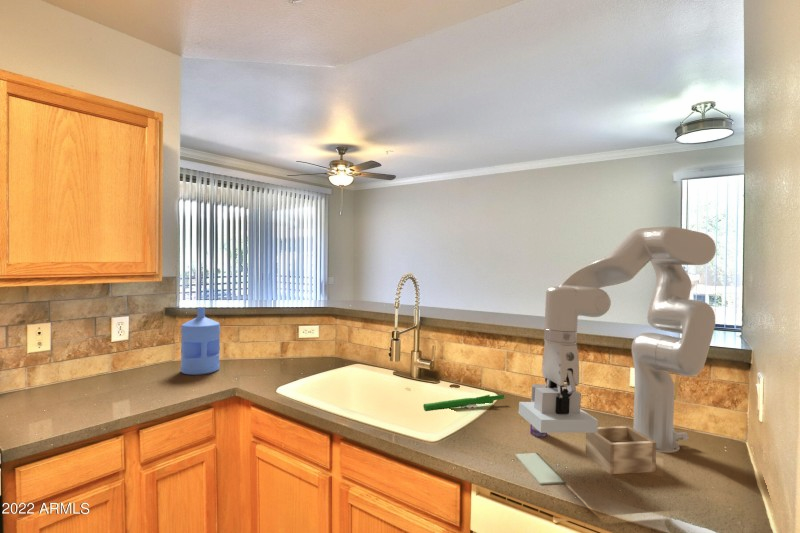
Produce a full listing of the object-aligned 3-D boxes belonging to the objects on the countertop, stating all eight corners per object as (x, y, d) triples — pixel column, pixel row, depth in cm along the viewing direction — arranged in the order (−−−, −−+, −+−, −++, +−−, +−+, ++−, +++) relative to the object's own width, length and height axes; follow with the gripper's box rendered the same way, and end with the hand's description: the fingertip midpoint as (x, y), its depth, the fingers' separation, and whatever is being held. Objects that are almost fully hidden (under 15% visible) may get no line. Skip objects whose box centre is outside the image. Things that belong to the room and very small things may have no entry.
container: (533, 432, 123) (535, 382, 122) (549, 437, 120) (550, 386, 119) (527, 437, 119) (528, 386, 119) (543, 442, 116) (545, 389, 116)
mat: (571, 452, 110) (571, 451, 110) (604, 480, 96) (604, 479, 96) (515, 455, 108) (515, 454, 108) (540, 484, 94) (540, 482, 94)
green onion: (426, 415, 137) (507, 404, 145) (426, 405, 137) (507, 395, 145) (422, 410, 142) (500, 400, 149) (421, 401, 142) (500, 391, 149)
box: (627, 455, 109) (628, 425, 109) (655, 475, 99) (656, 442, 99) (585, 457, 107) (586, 427, 107) (609, 478, 97) (610, 444, 97)
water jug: (177, 369, 184) (178, 307, 184) (214, 364, 194) (215, 305, 193) (184, 377, 172) (184, 311, 171) (223, 371, 181) (224, 308, 181)
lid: (569, 413, 109) (571, 383, 109) (597, 432, 97) (599, 398, 96) (518, 413, 107) (520, 382, 107) (540, 432, 95) (542, 398, 95)
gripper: (594, 343, 94) (591, 423, 94) (557, 331, 110) (554, 398, 110) (564, 343, 93) (560, 423, 93) (530, 330, 109) (528, 399, 109)
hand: (557, 409), depth 102 cm, fingers closed on lid, 4 cm apart
